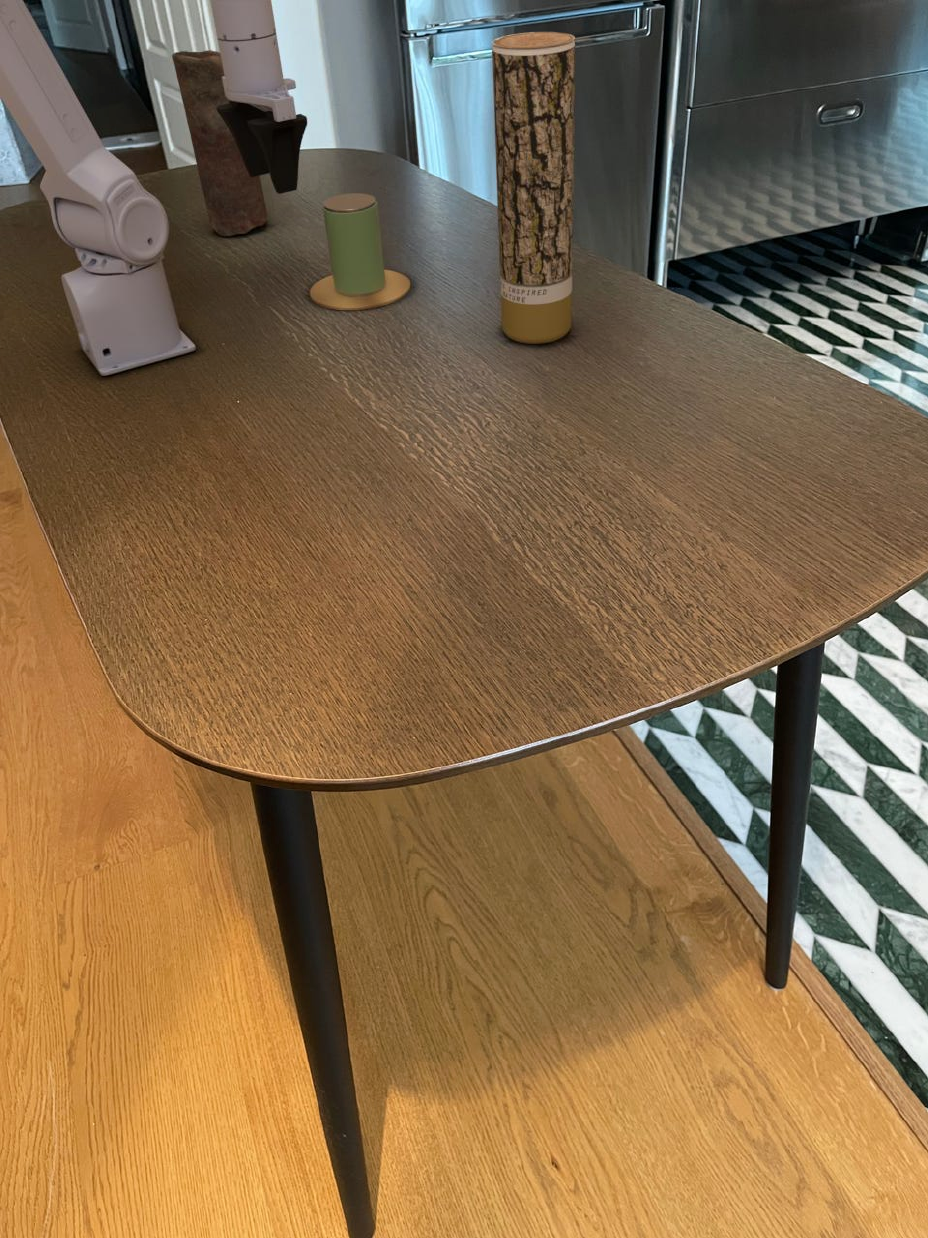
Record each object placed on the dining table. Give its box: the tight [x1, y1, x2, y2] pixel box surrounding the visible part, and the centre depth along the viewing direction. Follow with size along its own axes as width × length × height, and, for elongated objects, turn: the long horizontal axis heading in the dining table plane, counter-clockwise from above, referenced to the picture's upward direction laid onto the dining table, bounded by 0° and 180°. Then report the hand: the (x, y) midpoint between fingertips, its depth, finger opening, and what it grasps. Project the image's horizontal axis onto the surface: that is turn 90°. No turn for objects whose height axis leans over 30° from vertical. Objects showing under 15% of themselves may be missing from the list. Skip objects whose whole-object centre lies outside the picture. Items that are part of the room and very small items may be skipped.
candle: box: [171, 49, 268, 237], centre depth 118 cm, size 8×7×20 cm
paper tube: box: [491, 31, 576, 345], centre depth 87 cm, size 7×7×25 cm
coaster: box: [309, 268, 411, 311], centre depth 106 cm, size 11×11×1 cm
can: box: [322, 192, 386, 297], centre depth 103 cm, size 6×6×9 cm
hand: (272, 182), depth 103 cm, fingers open, 7 cm apart
